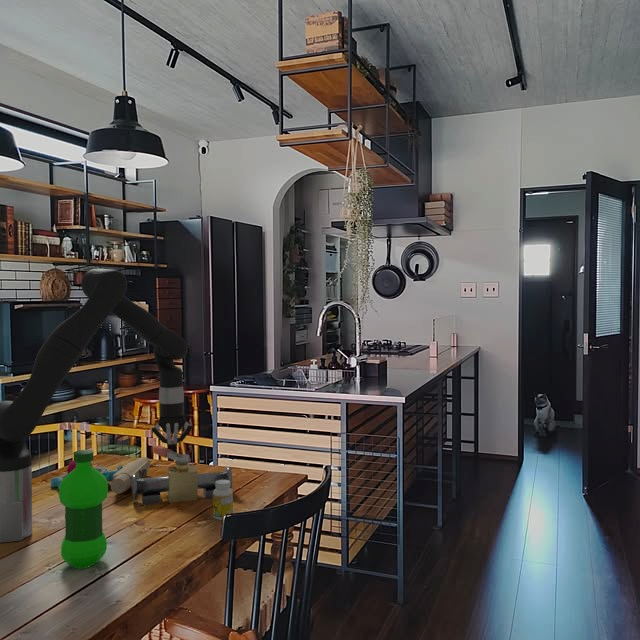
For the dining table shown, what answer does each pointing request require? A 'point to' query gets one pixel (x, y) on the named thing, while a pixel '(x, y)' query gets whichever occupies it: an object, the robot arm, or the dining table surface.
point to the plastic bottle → (83, 512)
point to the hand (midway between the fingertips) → (172, 455)
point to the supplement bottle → (222, 499)
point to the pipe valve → (178, 484)
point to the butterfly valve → (117, 475)
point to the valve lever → (171, 454)
